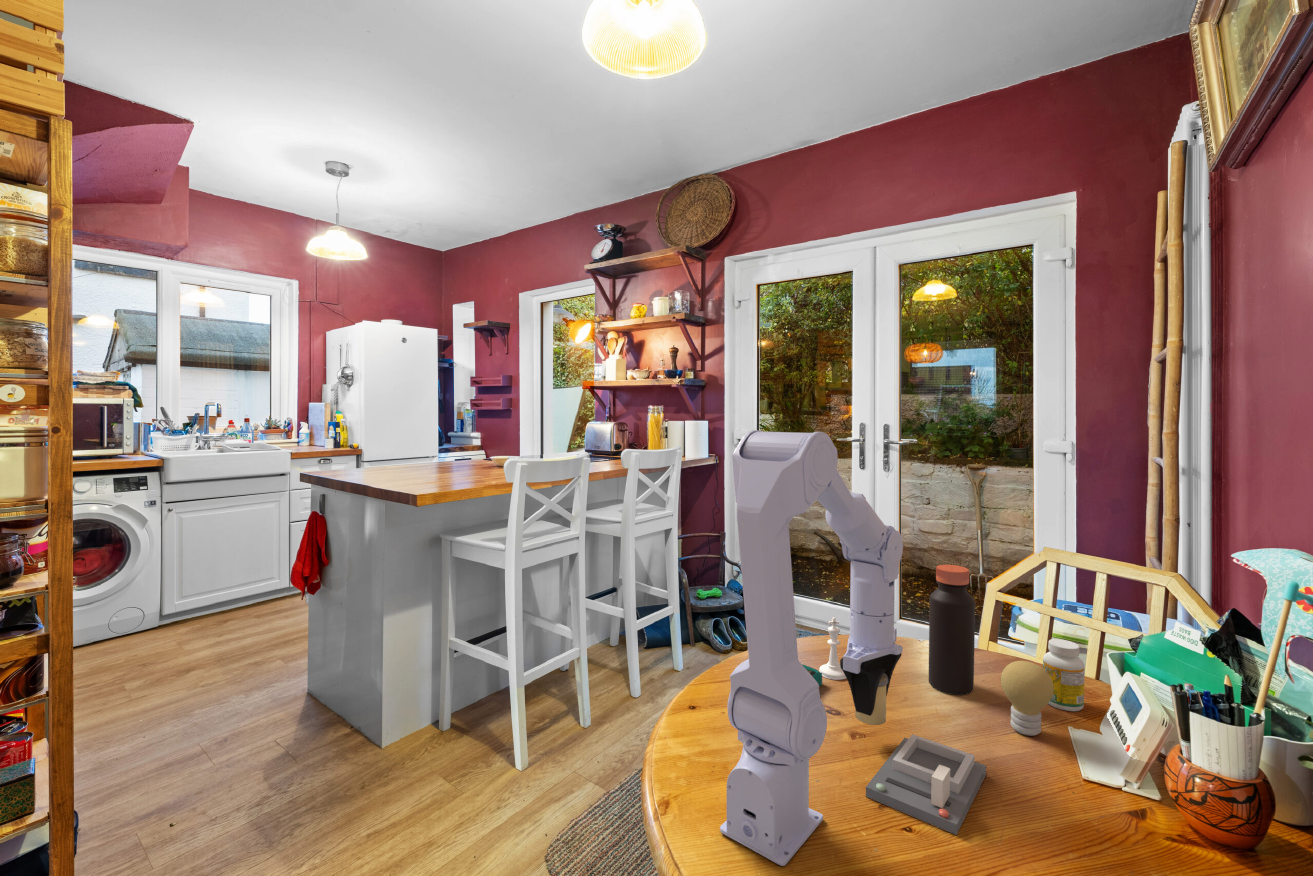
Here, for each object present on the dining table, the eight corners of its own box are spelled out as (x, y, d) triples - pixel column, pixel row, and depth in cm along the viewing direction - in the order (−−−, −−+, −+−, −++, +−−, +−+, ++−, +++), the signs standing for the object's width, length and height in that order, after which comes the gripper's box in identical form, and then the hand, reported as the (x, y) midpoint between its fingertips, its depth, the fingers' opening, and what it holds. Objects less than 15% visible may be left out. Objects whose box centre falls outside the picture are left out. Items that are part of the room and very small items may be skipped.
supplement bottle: (1089, 714, 90) (1091, 652, 89) (1049, 709, 91) (1050, 648, 91) (1074, 697, 95) (1076, 638, 94) (1037, 693, 96) (1038, 635, 96)
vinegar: (983, 691, 97) (985, 571, 96) (952, 699, 94) (955, 575, 94) (948, 674, 103) (950, 561, 102) (919, 681, 101) (920, 565, 100)
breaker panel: (956, 835, 64) (956, 814, 64) (865, 796, 71) (865, 777, 71) (986, 774, 75) (986, 756, 75) (904, 745, 81) (904, 729, 81)
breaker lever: (942, 808, 67) (942, 780, 66) (931, 803, 67) (931, 776, 67) (949, 795, 69) (950, 768, 69) (938, 790, 70) (939, 764, 70)
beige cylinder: (880, 729, 79) (881, 685, 79) (848, 718, 82) (849, 676, 82) (892, 716, 83) (892, 674, 82) (861, 706, 85) (861, 665, 85)
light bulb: (1056, 730, 85) (1057, 662, 85) (1047, 749, 81) (1049, 677, 80) (1005, 715, 90) (1007, 650, 89) (994, 732, 85) (996, 663, 84)
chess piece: (852, 680, 101) (852, 622, 101) (823, 680, 101) (823, 622, 101) (843, 667, 106) (843, 612, 106) (815, 667, 106) (816, 613, 106)
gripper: (881, 631, 74) (880, 738, 74) (918, 602, 85) (917, 695, 85) (828, 618, 78) (827, 719, 79) (869, 593, 89) (868, 681, 90)
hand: (870, 706), depth 82 cm, fingers closed on beige cylinder, 4 cm apart
